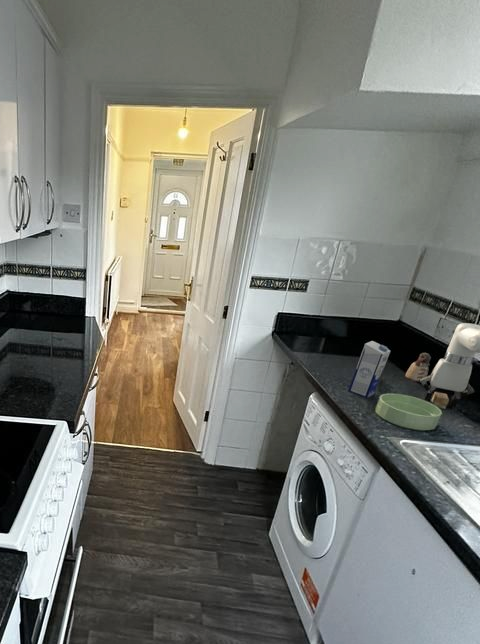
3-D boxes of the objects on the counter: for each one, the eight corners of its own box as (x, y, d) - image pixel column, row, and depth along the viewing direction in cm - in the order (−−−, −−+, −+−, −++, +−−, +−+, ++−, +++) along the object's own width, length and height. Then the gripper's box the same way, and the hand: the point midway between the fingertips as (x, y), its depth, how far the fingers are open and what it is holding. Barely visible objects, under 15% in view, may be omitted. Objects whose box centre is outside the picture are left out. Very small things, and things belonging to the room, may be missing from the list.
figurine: (428, 382, 173) (440, 355, 168) (417, 383, 171) (429, 356, 166) (412, 375, 179) (423, 349, 174) (400, 376, 177) (411, 350, 172)
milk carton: (355, 388, 162) (372, 340, 154) (373, 394, 158) (392, 345, 149) (347, 392, 158) (365, 343, 150) (366, 399, 154) (385, 349, 145)
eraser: (442, 403, 154) (446, 394, 152) (445, 409, 149) (449, 399, 148) (431, 400, 156) (434, 391, 154) (433, 406, 151) (437, 397, 149)
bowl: (431, 416, 143) (437, 402, 141) (439, 437, 129) (446, 421, 127) (374, 403, 151) (379, 389, 149) (375, 421, 137) (380, 406, 135)
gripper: (486, 361, 144) (465, 407, 151) (426, 350, 152) (409, 395, 159) (492, 367, 138) (470, 415, 145) (429, 356, 146) (411, 401, 153)
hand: (438, 404), depth 152 cm, fingers open, 6 cm apart
